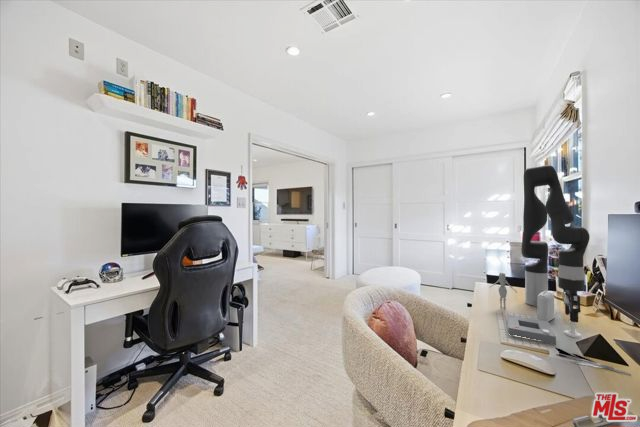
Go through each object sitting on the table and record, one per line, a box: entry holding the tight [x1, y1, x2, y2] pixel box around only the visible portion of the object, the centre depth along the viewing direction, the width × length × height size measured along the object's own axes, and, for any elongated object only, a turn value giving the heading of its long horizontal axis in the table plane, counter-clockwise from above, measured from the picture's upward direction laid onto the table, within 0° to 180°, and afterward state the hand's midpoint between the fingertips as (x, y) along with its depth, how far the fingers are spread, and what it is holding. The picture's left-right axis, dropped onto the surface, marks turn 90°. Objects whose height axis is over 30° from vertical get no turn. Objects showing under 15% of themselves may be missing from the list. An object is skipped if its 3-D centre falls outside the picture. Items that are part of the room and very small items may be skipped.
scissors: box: [555, 347, 632, 377], centre depth 85 cm, size 8×21×2 cm, turn 42°
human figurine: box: [488, 272, 518, 310], centre depth 132 cm, size 12×4×18 cm, turn 43°
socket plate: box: [506, 314, 557, 346], centre depth 106 cm, size 16×14×4 cm
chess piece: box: [563, 314, 582, 339], centre depth 103 cm, size 5×5×10 cm
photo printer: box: [536, 290, 556, 322], centre depth 119 cm, size 10×4×12 cm, turn 123°
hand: (571, 318), depth 103 cm, fingers open, 8 cm apart
